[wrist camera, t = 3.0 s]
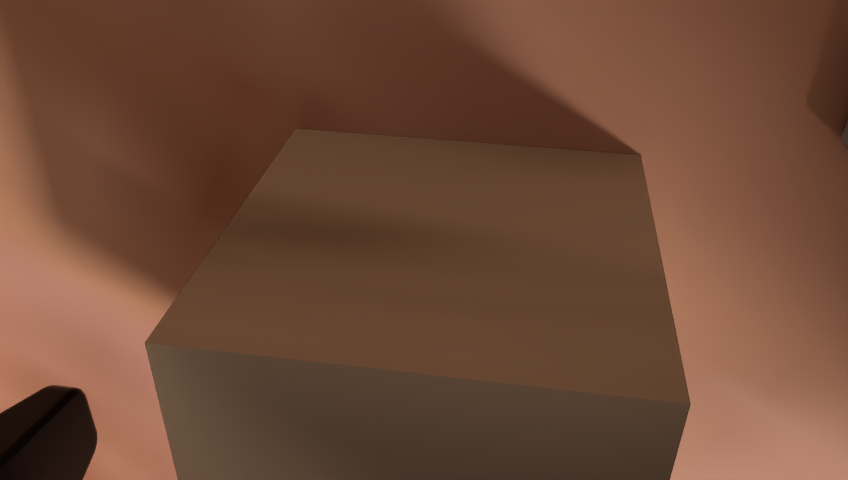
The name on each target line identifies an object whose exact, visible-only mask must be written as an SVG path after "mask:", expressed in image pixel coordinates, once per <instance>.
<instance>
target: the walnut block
mask: <svg viewBox="0 0 848 480" xmlns="http://www.w3.org/2000/svg"><path fill="white" fill-rule="evenodd" d="M145 346H146V350H147V354H148V358H149V362H150V366H151V371H152V375H153V379H154V383H155V387H156V391H157V395H158V399H159V404H160V408H161V412H162V416H163V420H164V424H165V428H166V432H167V437H168V441H169V445H170V449H171V453H172V457H173V461H174V465H175V470H176V474H177V478H178V480H670V477H671V473H672V469H673V466H674V462H675V458H676V455H677V451H678V448H679V444H680V440H681V437H682V433H683V429H684V426H685V422H686V419H687V415H688V411H689V408H690V399H689V394H688V389H687V384H686V379H685V374H684V369H683V364H682V359H681V354H680V349H679V344H678V339H677V334H676V329H675V324H674V319H673V314H672V309H671V304H670V299H669V294H668V289H667V284H666V279H665V274H664V269H663V264H662V259H661V254H660V249H659V244H658V239H657V234H656V229H655V224H654V219H653V214H652V209H651V204H650V199H649V194H648V189H647V184H646V179H645V174H644V169H643V164H642V159H641V155H636V154H623V153H610V152H597V151H584V150H571V149H558V148H545V147H531V146H518V145H505V144H492V143H479V142H466V141H453V140H440V139H427V138H414V137H400V136H387V135H374V134H361V133H348V132H335V131H322V130H309V129H295V130H294V132H293V133H292V135H291V136H290V137H289V139H288V140H287V142H286V143H285V145H284V146H283V147H282V149H281V150H280V152H279V153H278V154H277V156H276V157H275V159H274V160H273V162H272V163H271V164H270V166H269V167H268V169H267V170H266V171H265V173H264V174H263V176H262V177H261V179H260V180H259V181H258V183H257V184H256V186H255V187H254V188H253V190H252V191H251V193H250V194H249V196H248V197H247V198H246V200H245V201H244V203H243V204H242V206H241V207H240V208H239V210H238V211H237V213H236V214H235V215H234V217H233V218H232V220H231V221H230V223H229V224H228V225H227V227H226V228H225V230H224V231H223V232H222V234H221V235H220V237H219V238H218V240H217V241H216V242H215V244H214V245H213V247H212V248H211V249H210V251H209V252H208V254H207V255H206V257H205V258H204V259H203V261H202V262H201V264H200V265H199V267H198V268H197V269H196V271H195V272H194V274H193V275H192V276H191V278H190V279H189V281H188V282H187V284H186V285H185V286H184V288H183V289H182V291H181V292H180V293H179V295H178V296H177V298H176V299H175V301H174V302H173V303H172V305H171V306H170V308H169V309H168V310H167V312H166V313H165V315H164V316H163V318H162V319H161V320H160V322H159V323H158V325H157V326H156V328H155V329H154V330H153V332H152V333H151V335H150V336H149V337H148V339H147V340H146V342H145Z"/></svg>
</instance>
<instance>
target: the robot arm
mask: <svg viewBox="0 0 848 480" xmlns="http://www.w3.org/2000/svg"><path fill="white" fill-rule="evenodd" d="M96 445H97V431H96V427H95V424H94V421H93V418H92V414H91V411H90V408H89V405H88V401H87V398H86V395H85V393H84V392H83V391H82V390H81V389H78V388H74V387H66V386H58V385H51V386H47V387H45V388H43V389H41V390H39V391H38V392H36V393H34V394H32V395H31V396H29V397H27V398H26V399H24V400H22V401H21V402H19V403H17V404H15V405H14V406H12V407H10V408H9V409H7V410H5V411H4V412H2V413H0V480H83V478H84V476H85V473H86V471H87V468H88V466H89V464H90V461H91V459H92V457H93V454H94V452H95V449H96Z"/></svg>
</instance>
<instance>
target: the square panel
mask: <svg viewBox="0 0 848 480" xmlns="http://www.w3.org/2000/svg"><path fill="white" fill-rule="evenodd" d="M841 139H842V141H843V142H844V143H845V145H846V146H847V148H848V121H847V124H846V126H845V129H844V132H843V135H842V138H841Z"/></svg>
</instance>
